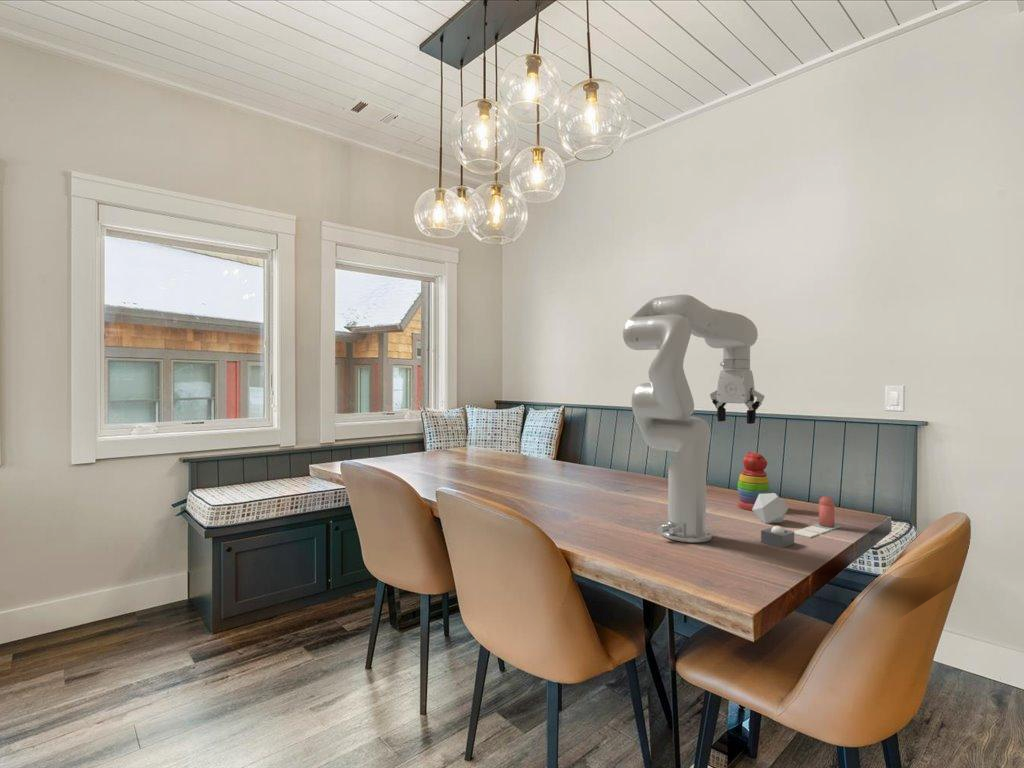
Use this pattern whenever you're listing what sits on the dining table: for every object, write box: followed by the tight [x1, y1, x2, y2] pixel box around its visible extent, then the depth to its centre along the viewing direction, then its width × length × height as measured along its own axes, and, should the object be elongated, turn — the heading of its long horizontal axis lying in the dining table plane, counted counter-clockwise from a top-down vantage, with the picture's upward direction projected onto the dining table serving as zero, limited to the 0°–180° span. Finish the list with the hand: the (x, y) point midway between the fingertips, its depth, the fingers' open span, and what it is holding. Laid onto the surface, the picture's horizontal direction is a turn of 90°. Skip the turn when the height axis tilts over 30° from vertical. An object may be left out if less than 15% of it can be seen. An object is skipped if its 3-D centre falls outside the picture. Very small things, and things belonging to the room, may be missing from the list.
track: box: [792, 525, 831, 538], centre depth 149 cm, size 11×5×1 cm, turn 126°
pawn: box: [818, 495, 836, 527], centre depth 154 cm, size 4×4×8 cm
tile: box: [812, 522, 841, 531], centre depth 154 cm, size 5×5×1 cm
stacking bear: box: [737, 451, 770, 511], centre depth 175 cm, size 11×10×18 cm
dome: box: [771, 525, 785, 534], centre depth 139 cm, size 3×3×4 cm
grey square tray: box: [760, 526, 795, 549], centre depth 139 cm, size 6×6×3 cm
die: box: [751, 492, 790, 525], centre depth 159 cm, size 8×9×10 cm
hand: (735, 422), depth 165 cm, fingers open, 9 cm apart
